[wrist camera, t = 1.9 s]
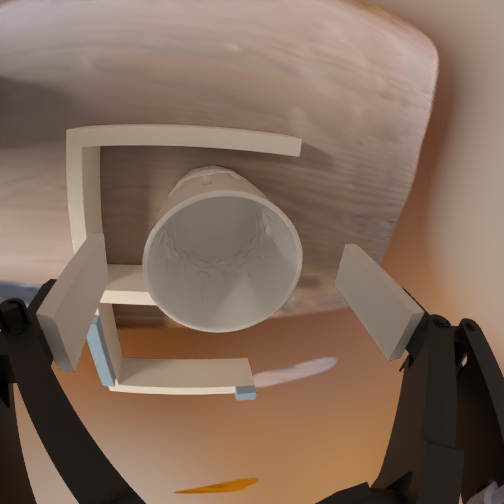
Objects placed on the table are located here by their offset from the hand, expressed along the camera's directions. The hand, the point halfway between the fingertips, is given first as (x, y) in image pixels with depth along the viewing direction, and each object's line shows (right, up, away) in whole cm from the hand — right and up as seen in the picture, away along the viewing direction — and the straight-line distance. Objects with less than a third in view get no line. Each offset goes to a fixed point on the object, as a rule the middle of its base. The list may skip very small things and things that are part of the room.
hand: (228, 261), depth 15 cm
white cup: (-2, +4, +8) cm, 9 cm away
